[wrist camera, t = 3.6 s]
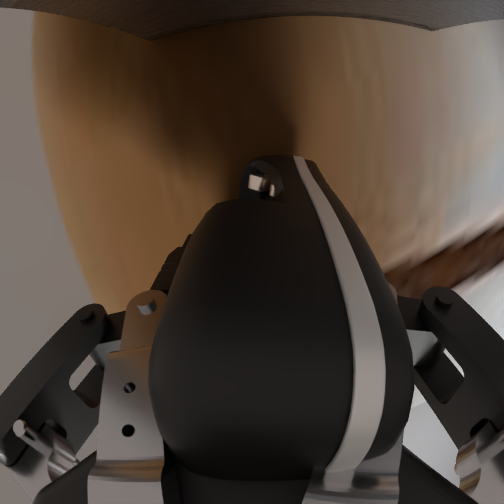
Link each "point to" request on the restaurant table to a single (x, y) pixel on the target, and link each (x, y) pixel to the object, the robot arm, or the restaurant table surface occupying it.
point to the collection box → (259, 12)
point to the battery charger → (279, 337)
